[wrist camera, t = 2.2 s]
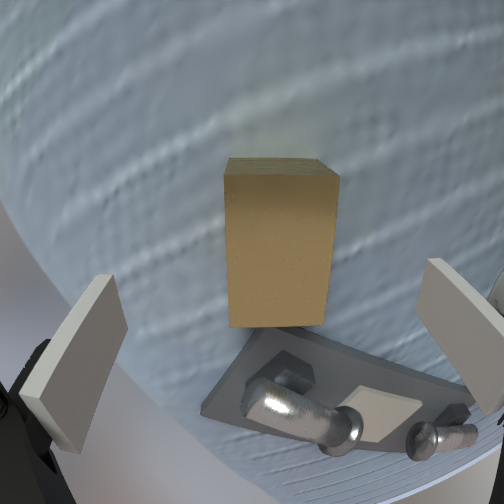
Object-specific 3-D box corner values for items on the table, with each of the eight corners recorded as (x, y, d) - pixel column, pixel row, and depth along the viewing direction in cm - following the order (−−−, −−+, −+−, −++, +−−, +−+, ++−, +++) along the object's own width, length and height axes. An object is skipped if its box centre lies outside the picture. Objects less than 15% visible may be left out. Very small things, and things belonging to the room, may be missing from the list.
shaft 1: (234, 376, 23) (233, 437, 18) (272, 343, 22) (278, 406, 17) (315, 413, 26) (326, 465, 21) (352, 386, 24) (369, 440, 19)
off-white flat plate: (359, 385, 24) (361, 390, 24) (420, 400, 26) (422, 405, 26) (312, 428, 27) (313, 433, 26) (376, 438, 29) (377, 442, 28)
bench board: (266, 314, 22) (267, 324, 21) (476, 390, 29) (480, 396, 28) (201, 405, 27) (200, 415, 25) (411, 446, 33) (414, 453, 32)
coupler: (229, 157, 18) (223, 174, 13) (315, 158, 18) (339, 175, 13) (232, 280, 21) (229, 327, 17) (307, 279, 21) (323, 324, 17)
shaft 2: (469, 403, 28) (487, 437, 23) (447, 425, 30) (462, 459, 24) (421, 403, 26) (440, 445, 21) (397, 428, 28) (412, 469, 23)
